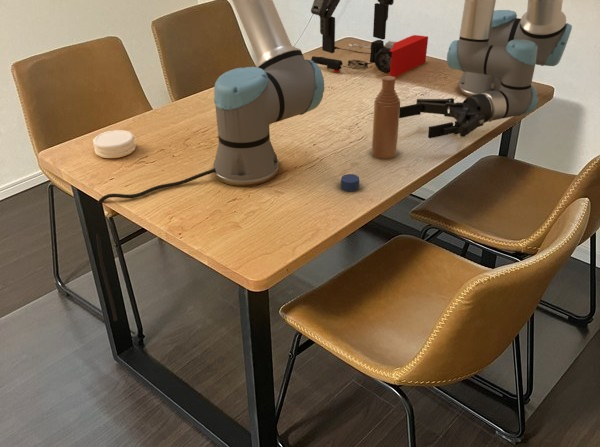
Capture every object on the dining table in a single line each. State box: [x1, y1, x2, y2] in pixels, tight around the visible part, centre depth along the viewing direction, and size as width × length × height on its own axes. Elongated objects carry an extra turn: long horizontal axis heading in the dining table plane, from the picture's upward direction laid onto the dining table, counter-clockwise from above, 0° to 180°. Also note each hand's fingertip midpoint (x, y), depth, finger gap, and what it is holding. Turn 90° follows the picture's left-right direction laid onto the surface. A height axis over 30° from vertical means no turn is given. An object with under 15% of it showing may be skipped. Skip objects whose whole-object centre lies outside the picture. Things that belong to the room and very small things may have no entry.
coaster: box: [92, 129, 137, 159], centre depth 155 cm, size 10×10×4 cm
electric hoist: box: [310, 34, 429, 78], centre depth 208 cm, size 10×27×30 cm
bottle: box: [371, 75, 401, 160], centre depth 148 cm, size 6×6×19 cm
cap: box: [340, 173, 360, 192], centre depth 138 cm, size 4×4×2 cm
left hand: (354, 44), depth 122 cm, fingers open, 13 cm apart
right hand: (413, 122), depth 153 cm, fingers open, 13 cm apart
